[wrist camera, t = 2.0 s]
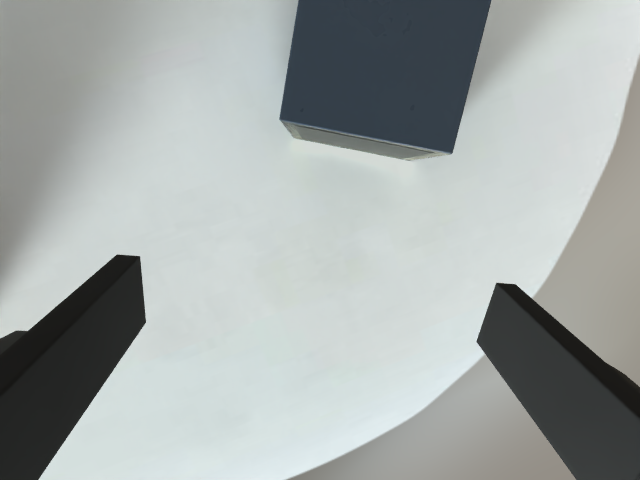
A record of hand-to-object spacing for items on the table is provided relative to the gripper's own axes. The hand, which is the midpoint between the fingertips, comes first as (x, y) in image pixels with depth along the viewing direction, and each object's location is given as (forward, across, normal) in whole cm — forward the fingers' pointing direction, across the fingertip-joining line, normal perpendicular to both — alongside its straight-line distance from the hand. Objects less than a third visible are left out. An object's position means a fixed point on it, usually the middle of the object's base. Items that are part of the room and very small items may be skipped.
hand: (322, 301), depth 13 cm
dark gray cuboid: (+20, +4, +9) cm, 22 cm away
